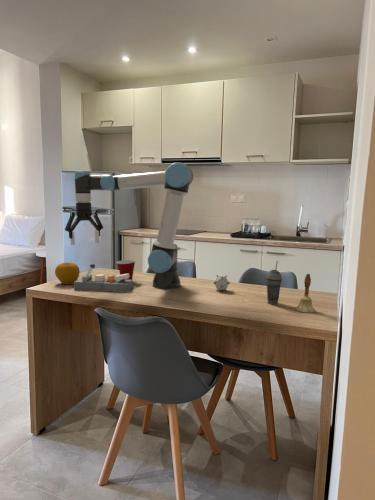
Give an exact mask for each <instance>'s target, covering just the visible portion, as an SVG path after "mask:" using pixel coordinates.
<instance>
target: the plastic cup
mask: <svg viewBox="0 0 375 500" xmlns="http://www.w3.org/2000/svg"><path fill="white" fill-rule="evenodd" d="M116 264H117V266H118V271H119V275H122V274H127V273H129V276H130V277H129V278H128V279H125V280H133V276H134V270H135V264H136V259H123V260H118V261H116Z"/></svg>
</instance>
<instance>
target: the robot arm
mask: <svg viewBox="0 0 375 500" xmlns="http://www.w3.org/2000/svg"><path fill="white" fill-rule="evenodd" d="M193 173H194V172H193V170H192V168H191V167H190V166H188V165H187V164H185V163H184V162H179V161H178V162H173V163H171V164H170V165H168V167H167V168H166V169H165V170H164V171H163V170H162V171H152V172H143V173H131V174H120V175H113V174H106V173H105V174H91V172H90V171H89V170H76V171H74V190H75V192H74V193H75V201H76V203H75V209H76V211H75V212H74V211H70V213H69V218H68V220H67V223H66V225H65V228H64V231H65V232H68V239H70V245H71V246H76V242H75V240H76V239H75V231H74V230H75V229H76V228H77V226H78V225H79V223H80V222H82V221H89V223H90V224H91V225H92V226H93V227H94V229H95V230H94V241H95V242H94V243H96V244H99V243H100V236H101V231H102V229H104V226H103V224H102V222H101V219H100V218H99V216H98V215H99V214H98V211H97V210H96V211H95V210H94V211H92V203H91V202H92V194H91V192H92V191H109V192H114V191H115V192H116V191H121V190H123V191H124V190H133V189H144V188H146V189H147V188H155V187H156V188H157V187H158V188H159V187H163V189H164V191H165V198H164V203H163V207H162V211H161V216H160V223H159V227H158V232H157V233H158V234H157V237H156V240H155V241H154V242H153V243H152V247H151V252H150V253H149V255H148V257H147V264H148V266H149V269H151V270H152V271H153V272H155V273H154V276H153V280H152V287H153V288H157V289H166V290H167V289H175V288H178V287H179V288H180V286H181V279H180V276H179V273H178V251H179V249H178V245H177V244H176V243H175V239H176V234H177V230H178V224H179V220H180V216H181V211H182V205H183V203H184V202H183V200H184V197H185V196H186V195H187V194H188V192H189V189H190V188H189V187H190V185H191V184H192V183H193V180H194V174H193ZM75 217H76V218H75ZM93 218H94V219H93ZM74 219H75V220H74Z"/></svg>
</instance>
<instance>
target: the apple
mask: <svg viewBox="0 0 375 500" xmlns="http://www.w3.org/2000/svg"><path fill="white" fill-rule="evenodd" d="M54 275H55V276H56V278H57V279H58V280H59V282H60V283H61V284H63V285H74V282H75V281H77V280H79V277H80V267H79V265H78V264H76V263H74V262H62V263H59V264H57V265H56V267H55V270H54Z"/></svg>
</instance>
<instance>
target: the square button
mask: <svg viewBox="0 0 375 500" xmlns="http://www.w3.org/2000/svg"><path fill="white" fill-rule="evenodd" d="M94 278H95V282H104V281H105V279H106V275H105V274H104V273H103V274H101V273H98V274H96V275H94Z"/></svg>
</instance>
